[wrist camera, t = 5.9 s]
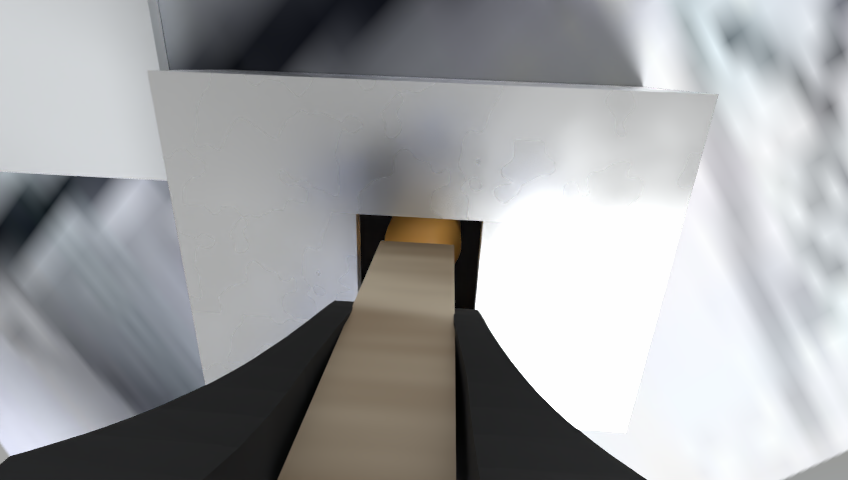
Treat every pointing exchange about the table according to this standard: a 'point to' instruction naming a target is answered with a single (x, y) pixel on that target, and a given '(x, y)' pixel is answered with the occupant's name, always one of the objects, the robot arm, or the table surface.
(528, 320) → the guard box
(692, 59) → the table surface
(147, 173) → the pad
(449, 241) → the button
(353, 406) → the long tan rectangular block
